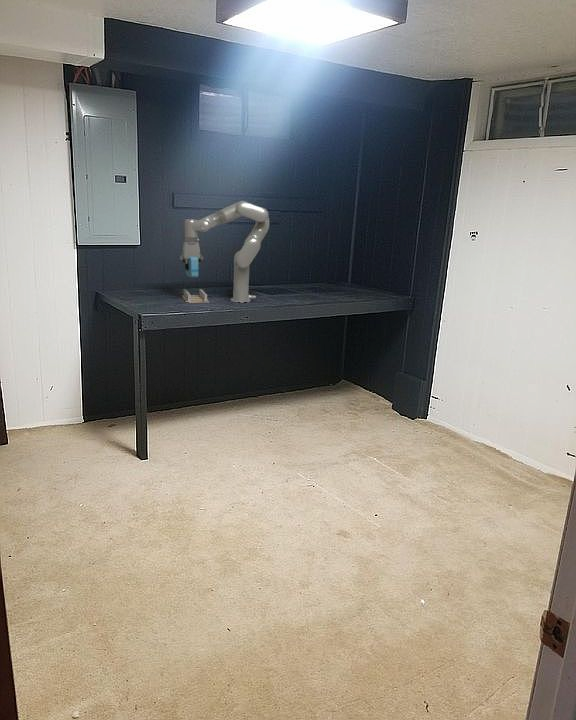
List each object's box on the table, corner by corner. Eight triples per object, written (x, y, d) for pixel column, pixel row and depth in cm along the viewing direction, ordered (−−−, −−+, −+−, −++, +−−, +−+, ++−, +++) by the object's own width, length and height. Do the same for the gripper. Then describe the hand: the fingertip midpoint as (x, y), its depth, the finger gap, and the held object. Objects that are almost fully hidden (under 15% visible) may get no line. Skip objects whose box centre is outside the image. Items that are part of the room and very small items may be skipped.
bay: (181, 296, 373) (181, 289, 371) (203, 296, 377) (203, 289, 376) (186, 302, 355) (186, 294, 353) (209, 302, 359) (209, 295, 358)
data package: (198, 277, 357) (198, 257, 353) (191, 277, 355) (191, 257, 351) (192, 274, 367) (192, 255, 364) (185, 275, 365) (184, 255, 362)
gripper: (204, 239, 361) (204, 269, 366) (176, 239, 356) (177, 269, 361) (206, 240, 354) (206, 270, 359) (177, 240, 349) (178, 271, 354)
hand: (191, 269), depth 360 cm, fingers closed on data package, 5 cm apart
